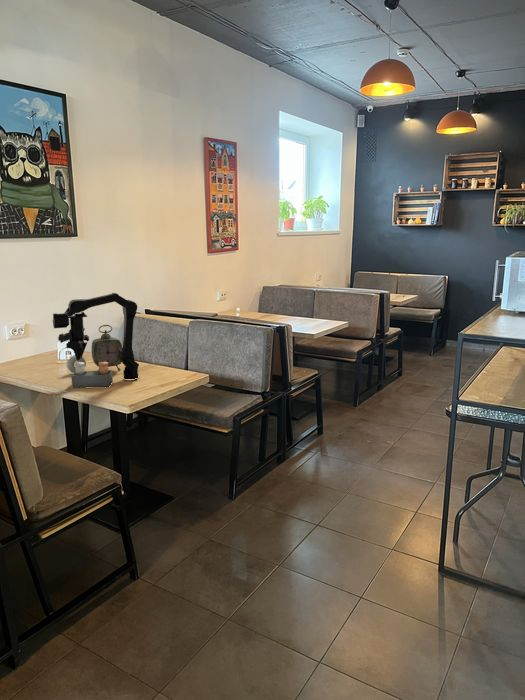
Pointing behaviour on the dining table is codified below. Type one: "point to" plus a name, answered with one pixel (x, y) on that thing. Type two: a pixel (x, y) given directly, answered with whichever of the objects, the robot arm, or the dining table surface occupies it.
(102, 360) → the tabletop clock
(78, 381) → the press block
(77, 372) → the plunger
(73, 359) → the donut
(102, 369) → the terracotta plunger
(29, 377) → the dining table surface
